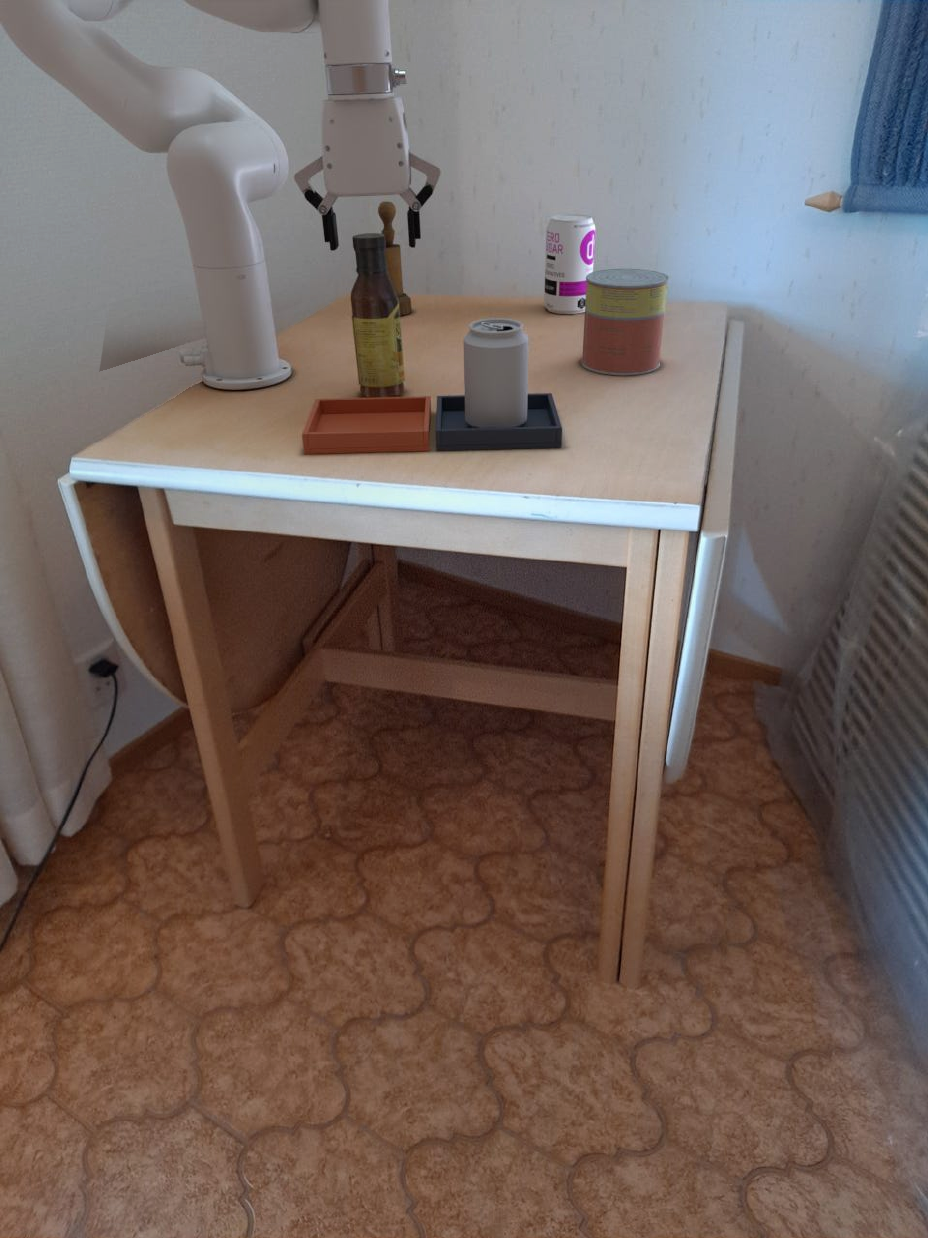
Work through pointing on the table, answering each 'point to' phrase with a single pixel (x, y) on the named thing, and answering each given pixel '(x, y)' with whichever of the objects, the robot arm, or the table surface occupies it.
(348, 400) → the terracotta tray
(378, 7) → the robot arm
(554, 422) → the charcoal tray
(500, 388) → the can
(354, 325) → the sauce bottle
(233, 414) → the table surface
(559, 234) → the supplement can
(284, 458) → the table surface
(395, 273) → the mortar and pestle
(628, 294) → the canned food
